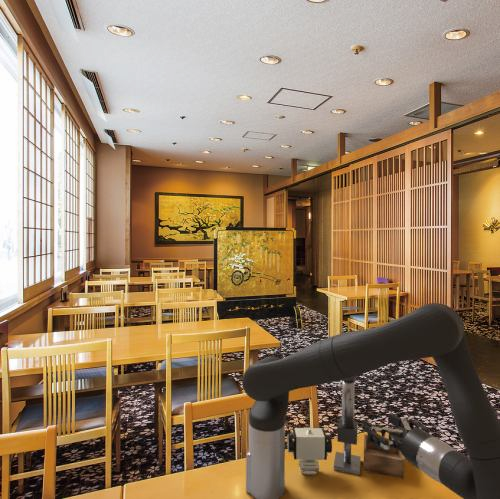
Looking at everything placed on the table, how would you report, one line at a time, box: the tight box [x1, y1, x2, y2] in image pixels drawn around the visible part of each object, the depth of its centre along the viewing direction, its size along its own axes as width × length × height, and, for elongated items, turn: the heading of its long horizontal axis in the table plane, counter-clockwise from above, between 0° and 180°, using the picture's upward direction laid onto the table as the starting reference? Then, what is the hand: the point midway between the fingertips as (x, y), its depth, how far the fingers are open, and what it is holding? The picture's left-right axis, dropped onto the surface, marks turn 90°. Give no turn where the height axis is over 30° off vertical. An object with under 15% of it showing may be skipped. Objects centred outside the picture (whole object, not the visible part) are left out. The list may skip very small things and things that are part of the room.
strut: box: [336, 376, 359, 446], centre depth 100 cm, size 5×5×18 cm
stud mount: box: [333, 443, 362, 476], centre depth 100 cm, size 7×7×11 cm
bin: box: [363, 434, 405, 480], centre depth 101 cm, size 10×10×5 cm
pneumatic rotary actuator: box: [286, 426, 333, 476], centre depth 97 cm, size 6×12×12 cm, turn 89°
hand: (376, 420), depth 90 cm, fingers open, 8 cm apart
